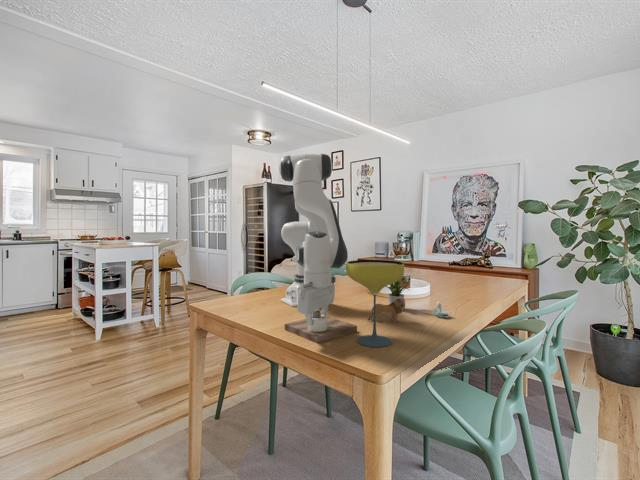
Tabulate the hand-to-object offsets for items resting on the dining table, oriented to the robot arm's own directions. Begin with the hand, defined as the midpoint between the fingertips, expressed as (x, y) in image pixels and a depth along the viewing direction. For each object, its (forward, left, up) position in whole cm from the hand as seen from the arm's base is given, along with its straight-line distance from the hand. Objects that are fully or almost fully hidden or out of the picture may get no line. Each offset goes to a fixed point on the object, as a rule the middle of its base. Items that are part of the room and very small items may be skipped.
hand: (317, 321), depth 110 cm
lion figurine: (+5, +32, -5) cm, 32 cm away
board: (-3, +4, -5) cm, 7 cm away
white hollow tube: (0, 0, -2) cm, 3 cm away
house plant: (-4, +49, -5) cm, 49 cm away
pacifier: (+15, +54, -5) cm, 56 cm away
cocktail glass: (+17, +10, -5) cm, 20 cm away
